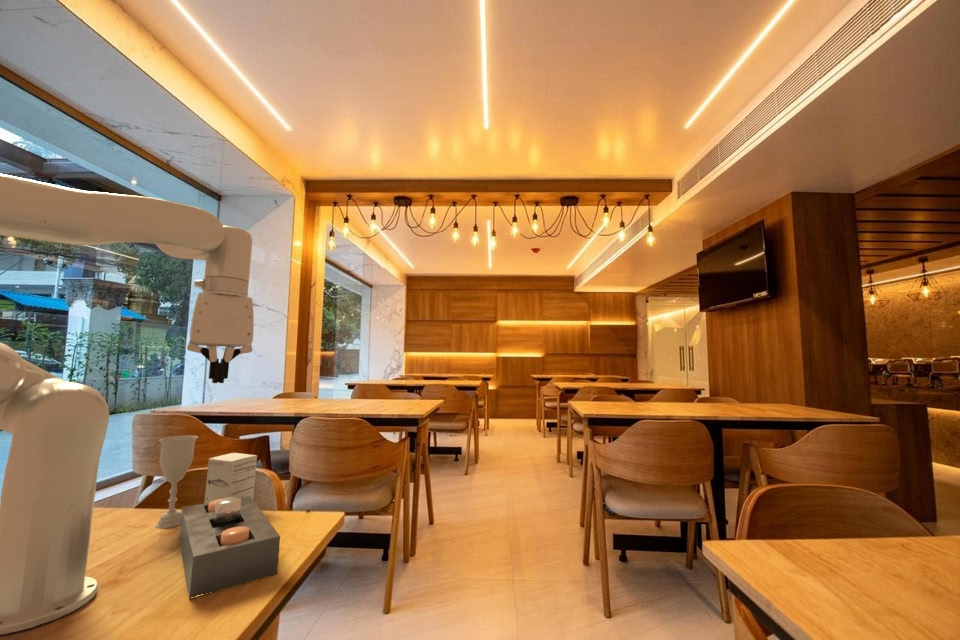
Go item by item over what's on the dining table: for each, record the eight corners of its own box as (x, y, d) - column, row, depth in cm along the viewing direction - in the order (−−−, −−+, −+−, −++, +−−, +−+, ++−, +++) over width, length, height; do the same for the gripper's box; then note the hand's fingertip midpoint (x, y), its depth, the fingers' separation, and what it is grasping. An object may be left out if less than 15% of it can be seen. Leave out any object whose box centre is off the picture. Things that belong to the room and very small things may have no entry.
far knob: (208, 522, 77) (209, 506, 78) (206, 516, 81) (207, 501, 81) (232, 518, 80) (233, 502, 80) (229, 512, 83) (230, 497, 83)
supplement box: (201, 514, 92) (207, 458, 93) (230, 504, 99) (234, 451, 100) (226, 518, 90) (231, 460, 91) (254, 507, 97) (258, 454, 98)
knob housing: (189, 599, 59) (193, 556, 60) (178, 538, 79) (181, 507, 80) (277, 573, 67) (280, 536, 67) (247, 524, 87) (249, 495, 87)
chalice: (172, 530, 83) (181, 441, 85) (140, 529, 83) (149, 441, 85) (197, 517, 90) (205, 435, 92) (168, 516, 90) (176, 435, 92)
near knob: (221, 558, 64) (223, 538, 64) (218, 549, 67) (219, 530, 67) (249, 551, 66) (251, 532, 67) (245, 542, 69) (246, 524, 70)
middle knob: (215, 523, 71) (217, 506, 71) (212, 516, 74) (214, 500, 74) (241, 518, 73) (242, 501, 74) (237, 512, 76) (239, 495, 77)
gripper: (180, 281, 72) (169, 384, 70) (272, 292, 81) (264, 383, 79) (178, 287, 77) (168, 382, 75) (263, 296, 87) (256, 381, 85)
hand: (217, 382), depth 77 cm, fingers closed
